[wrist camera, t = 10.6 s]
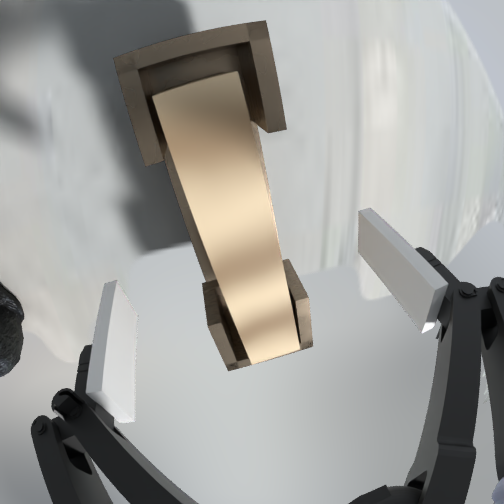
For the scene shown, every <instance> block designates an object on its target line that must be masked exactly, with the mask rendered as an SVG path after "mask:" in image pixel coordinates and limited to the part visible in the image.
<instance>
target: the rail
mask: <svg viewBox="0 0 504 504" xmlns="http://www.w3.org/2000/svg"><path fill="white" fill-rule="evenodd" d="M152 98H153V101H154V104H155V107H156V110H157V113H158V116H159V119H160V122H161V125H162V129H163V132H164V135H165V138H166V141H167V143H168V146H169V149H170V152H171V155H172V158H173V161H174V164H175V167H176V170H177V173H178V175H179V178H180V181H181V184H182V187H183V190H184V192H185V195H186V198H187V201H188V204H189V206H190V209H191V212H192V215H193V217H194V220H195V223H196V225H197V228H198V231H199V234H200V236H201V239H202V242H203V244H204V247H205V249H206V252H207V255H208V257H209V260H210V263H211V265H212V268H213V270H214V273H215V275H216V278H217V281H218V283H219V286H220V288H221V291H222V293H223V296H224V298H225V301H226V303H227V306H228V308H229V311H230V313H231V316H232V318H233V321H234V323H235V325H236V328H237V330H238V333H239V335H240V338H241V340H242V342H243V345H244V347H245V350H246V352H247V354H248V357H249V359H250V361H251V364H252V365H253V364H256V363H259V362H262V361H266V360H269V359H272V358H275V357H278V356H282V355H285V354H288V353H291V352H294V351H297V350H300V346H299V340H298V335H297V330H296V325H295V320H294V315H293V310H292V305H291V300H290V295H289V290H288V286H287V281H286V276H285V271H284V266H283V262H282V257H281V252H280V248H279V243H278V238H277V234H276V229H275V225H274V220H273V216H272V211H271V207H270V202H269V198H268V194H267V189H266V185H265V180H264V176H263V172H262V168H261V163H260V159H259V155H258V151H257V146H256V142H255V138H254V134H253V130H252V126H251V122H250V118H249V113H248V109H247V105H246V101H245V97H244V93H243V89H242V86H241V82H240V78H239V74H238V71H232V72H222V73H218V74H215V75H211V76H207V77H204V78H200V79H197V80H193V81H190V82H187V83H183V84H180V85H177V86H174V87H171V88H168V89H165V90H162V91H160V92H158V93H157V94H155V95H154V96H152Z"/></svg>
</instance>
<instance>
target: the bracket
mask: <svg viewBox="0 0 504 504" xmlns="http://www.w3.org/2000/svg"><path fill="white" fill-rule="evenodd" d="M113 59H114V63H115V67H116V71H117V75H118V78H119V82H120V85H121V89H122V93H123V96H124V100H125V103H126V106H127V110H128V113H129V116H130V120H131V123H132V126H133V130H134V133H135V136H136V139H137V142H138V145H139V148H140V151H141V155H142V158H143V161H144V164H145V167H146V166H149V165H153V164H156V163H159V162H162V161H164V160H165V164H166V167H167V170H168V173H169V176H170V179H171V182H172V186H173V189H174V192H175V195H176V198H177V201H178V204H179V207H180V210H181V213H182V216H183V219H184V221H185V224H186V227H187V230H188V233H189V236H190V239H191V242H192V244H193V247H194V250H195V253H196V256H197V258H198V261H199V264H200V267H201V269H202V272H203V275H204V277H205V280H206V282H205V283H202V287H203V295H204V302H205V310H206V317H207V325H208V328H209V330H210V333H211V335H212V337H213V339H214V341H215V344H216V346H217V348H218V350H219V352H220V355H221V357H222V359H223V361H224V363H225V365H226V367H227V369H228V371H231V370H235V369H239V368H242V367H246V366H249V365H252V364H251V361H250V359H249V357H248V354H247V352H246V350H245V347H244V345H243V342H242V340H241V338H240V335H239V333H238V330H237V328H236V325H235V323H234V321H233V318H232V316H231V313H230V311H229V308H228V306H227V303H226V301H225V298H224V296H223V293H222V291H221V288H220V286H219V283H218V281H217V278H216V275H215V273H214V270H213V268H212V265H211V263H210V260H209V257H208V255H207V252H206V249H205V247H204V244H203V242H202V239H201V236H200V234H199V231H198V228H197V225H196V223H195V220H194V217H193V215H192V212H191V209H190V206H189V204H188V201H187V198H186V195H185V192H184V190H183V187H182V184H181V181H180V178H179V175H178V173H177V170H176V167H175V164H174V161H173V158H172V155H171V152H170V149H169V146H168V143H167V141H166V138H165V135H164V132H163V129H162V125H161V122H160V119H159V116H158V113H157V110H156V107H155V104H154V101H153V98H152V96H154V95H155V94H157V93H158V92H160V91H162V90H165V89H168V88H171V87H174V86H177V85H180V84H183V83H187V82H190V81H193V80H197V79H200V78H204V77H207V76H211V75H215V74H218V73H222V72H232V71H238V74H239V78H240V82H241V86H242V89H243V93H244V97H245V101H246V105H247V109H248V113H249V118H250V122H251V126H252V130H253V134H254V138H255V142H256V146H257V151H258V155H259V159H260V163H261V168H262V172H263V176H264V180H265V185H266V189H267V194H268V198H269V202H270V207H271V211H272V216H273V220H274V225H275V229H276V223H275V217H274V212H273V206H272V201H271V195H270V190H269V184H268V179H267V174H266V168H265V163H264V158H263V153H262V147H261V142H260V137H259V132H258V127H257V125H258V126H259V127H261V128H262V129H263V130H265V131H266V132H267V133H272V132H277V131H282V130H287V128H286V122H285V116H284V110H283V104H282V99H281V93H280V88H279V82H278V77H277V72H276V67H275V62H274V57H273V52H272V47H271V42H270V37H269V32H268V28H267V23H266V20H265V21H257V22H250V23H243V24H237V25H231V26H226V27H221V28H215V29H211V30H206V31H201V32H197V33H193V34H189V35H185V36H181V37H177V38H173V39H170V40H166V41H163V42H159V43H156V44H153V45H150V46H146V47H143V48H140V49H137V50H134V51H131V52H129V53H126V54H123V55H120V56H118V57H115V58H113ZM276 234H277V229H276ZM277 238H278V234H277ZM278 243H279V240H278ZM279 248H280V246H279ZM282 262H283V266H284V271H285V276H286V281H287V286H288V290H289V295H290V300H291V305H292V310H293V315H294V320H295V325H296V330H297V335H298V340H299V346H300V350H303V349H307V348H310V347H312V346H313V340H312V328H311V317H310V307H309V306H310V305H309V297H308V295H307V293H306V291H305V289H304V287H303V285H302V283H301V282H300V280H299V278H298V276H297V274H296V272H295V270H294V268H293V266H292V264H291V262H290V261H289V259H286V260H283V261H282ZM300 350H297V351H300ZM297 351H294V352H297ZM294 352H291V353H294ZM291 353H288V354H291ZM285 355H287V354H285ZM282 356H284V355H282ZM278 357H281V356H278ZM275 358H277V357H275ZM272 359H274V358H272ZM269 360H271V359H269ZM266 361H268V360H266ZM262 362H264V361H262ZM259 363H260V362H259ZM256 364H257V363H256Z"/></svg>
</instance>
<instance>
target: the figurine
mask: <svg viewBox="0 0 504 504" xmlns="http://www.w3.org/2000/svg"><path fill="white" fill-rule="evenodd" d="M23 320H24V312H23V309H22V306H21V304H20V302H19V301H18V300H17V299H16V298H15V297H14V296H13V295H12V294H10V293H9V292H7V291H6V290H5V289H4V288H3V287H2V286H1V285H0V377H2V376H4V375H6V374H7V373H9V372H10V371H11V370H12V369H13V367H14V366H15V365H16V364H17V363H18V362H19V360H20V355H21V350H22V345H23V339H24V337H23V333H22V326H21V323H22V321H23Z"/></svg>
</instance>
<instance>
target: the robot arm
mask: <svg viewBox="0 0 504 504" xmlns="http://www.w3.org/2000/svg"><path fill="white" fill-rule="evenodd" d="M358 252H359V254H360V255H361V256H362V257H363V258H364V260H365V261H366V262H367V263H368V265H369V266H370V267H371V268H372V269H373V271H374V272H375V273H376V274H377V276H378V277H379V278H380V279H381V281H382V282H383V283H384V284H385V286H386V287H387V288H388V290H389V291H390V292H391V293H392V295H393V296H394V297H395V299H396V300H397V301H398V302H399V304H400V305H401V306H402V308H403V309H404V310H405V312H406V313H407V314H408V316H409V317H410V318H411V320H412V321H413V322H414V324H415V325H416V326H417V328H418V329H419V330H420V332H421V333H424V332H426V331H428V330H430V329H431V328H434V326H435V323H436V321H437V319H438V320H439V321H440V323H441V327H440V329H439V332H438V334H437V337H436V339H438V338H439V342H438V351H437V359H436V366H435V373H434V379H433V385H432V390H431V396H430V401H429V406H428V411H427V415H426V420H425V424H424V428H423V432H422V436H421V441H420V444H419V448H418V451H417V455H416V458H415V461H414V463H413V465H412V467H411V469H410V471H409V473H408V476H407V478H406V481H405V484H404V486H393V487H387V486H386V485H384V486H382V487H380V488H377V489H375V490H373V491H371V492H368V493H366V494H364V495H361V496H359V497H358V498H356V499H355V500H353V501H352V502H350V503H349V504H464V503H465V500H466V496H467V493H468V489H469V485H470V481H471V477H472V473H473V468H474V464H475V459H476V448H475V447H474V446H473V436H474V430H475V423H476V416H477V408H478V398H479V386H480V371H481V369H480V368H481V353H482V357H483V362H484V367H485V373H486V378H487V384H488V390H489V397H490V404H491V411H492V420H493V430H494V444H495V460H496V469H497V476H498V480H499V482H498V484H497V485H496V488H495V490H494V491H493V493H492V499H493V500H494V504H504V278H501V277H496V278H493V279H492V280H491V283H490V286H488V287H481V288H476V287H475V286H474V285H472V284H471V283H468V282H460V281H459V280H458V279H456V277H455V276H454V275H453V274H452V273H451V272H450V271H449V270H448V269H447V268H446V267H445V266H444V265H443V264H441V262H440V261H439V260H438V259H436V257H435V256H434V255H433V254H432V253H431V252H430V251H428V250H426V249H424V248H422V247H419V248H416V249H414V248H413V247H412V246H411V245H410V244H409V243H408V242H407V241H406V240H405V239H404V238H403V237H402V236H401V235H400V234H399V233H398V232H397V231H395V230H394V229H393V228H392V227H391V226H390V225H389V224H388V223H387V222H386V221H385V220H384V219H382V218H381V217H380V216H379V215H378V214H377V213H376V212H375V211H374V210H372V209H371V208H368V209H364V210H360V211H359V234H358ZM137 325H138V315H137V313H136V312H135V310H134V308H133V307H132V305H131V303H130V302H129V300H128V298H127V297H126V295H125V293H124V291H123V290H122V288H121V286H120V284H119V283H118V281H117V280H115V281H112V282H108V283H105V284H104V288H103V293H102V297H101V302H100V307H99V312H98V317H97V322H96V327H95V332H94V338H93V344H91V345H87V346H85V347H84V349H83V351H82V352H81V354H80V359H79V366H78V370H77V372H78V373H77V377H76V384H75V391H72V390H71V389H68V388H65V389H61V390H60V391H58V392H57V393H56V395H55V396H54V397H53V400H52V406H51V407H52V410H53V412H54V413H56V414H57V415H58V417H56V418H54V419H52V420H51V419H49V418H48V417H47V416H44V415H41V416H38V417H37V418H36V419H35V420H34V421H33V423H32V426H31V435H32V439H33V443H34V447H35V451H36V454H37V458H38V461H39V465H40V468H41V471H42V474H43V477H44V480H45V483H46V486H47V489H48V491H49V494H50V496H51V499H52V502H53V504H113V502H112V501H111V499H110V497H109V495H108V493H107V491H106V489H105V488H104V485H103V484H102V481H101V479H100V477H99V475H98V473H97V471H96V469H95V467H94V465H93V462H92V460H91V458H92V459H93V461H94V462H95V463H96V464H97V466H98V467H99V468H100V469H101V471H102V472H103V473H104V474H105V476H106V477H107V478H108V479H109V480H110V482H111V483H112V484H113V485H114V486H115V487H116V488H117V490H118V491H119V492H120V493H121V494H122V495H123V496H124V497H125V498H126V500H127V501H128V502H129V503H130V504H198V503H197V502H196V501H194V500H193V499H192V498H190V497H189V496H188V495H187V494H186V493H184V492H183V491H182V490H181V489H180V488H178V487H177V486H176V485H175V484H174V483H173V482H172V481H170V480H169V479H168V478H167V477H166V476H165V475H163V473H161V472H160V471H159V470H158V469H157V468H156V467H155V466H154V465H153V464H152V463H151V462H150V461H149V460H148V459H147V458H145V456H144V455H143V454H141V453H140V452H139V451H138V449H136V447H135V446H134V445H133V444H132V443H131V442H130V441H129V440H128V439H127V438H126V437H125V436H124V435H123V434H122V433H121V432H120V431H119V429H118V428H117V427H115V426H114V418H115V419H116V420H117V421H119V422H120V423H127V422H134V421H135V371H136V343H137ZM90 457H91V458H90Z"/></svg>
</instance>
